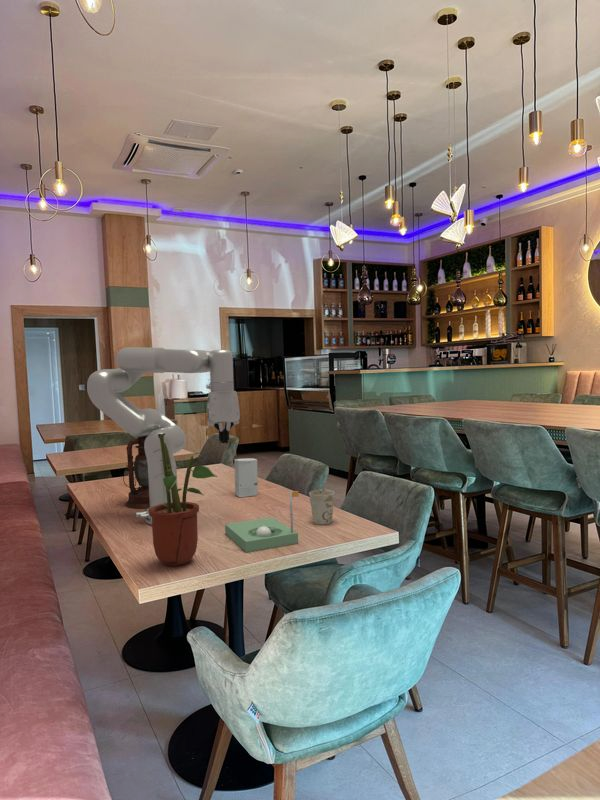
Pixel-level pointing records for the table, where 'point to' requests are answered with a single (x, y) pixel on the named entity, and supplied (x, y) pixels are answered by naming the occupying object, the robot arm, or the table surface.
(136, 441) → the lantern
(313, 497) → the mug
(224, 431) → the robot arm
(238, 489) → the skincare box
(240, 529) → the putting mat
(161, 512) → the potted plant
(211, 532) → the table surface
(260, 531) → the ball
